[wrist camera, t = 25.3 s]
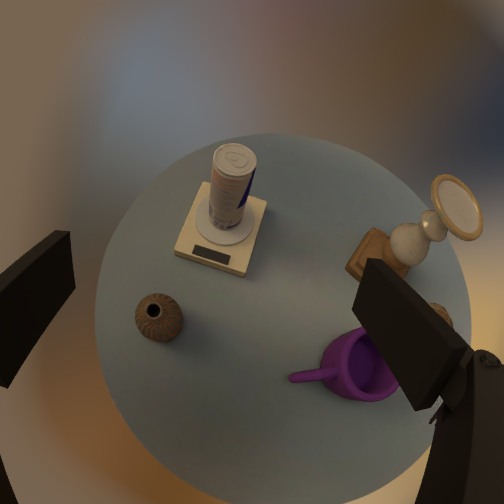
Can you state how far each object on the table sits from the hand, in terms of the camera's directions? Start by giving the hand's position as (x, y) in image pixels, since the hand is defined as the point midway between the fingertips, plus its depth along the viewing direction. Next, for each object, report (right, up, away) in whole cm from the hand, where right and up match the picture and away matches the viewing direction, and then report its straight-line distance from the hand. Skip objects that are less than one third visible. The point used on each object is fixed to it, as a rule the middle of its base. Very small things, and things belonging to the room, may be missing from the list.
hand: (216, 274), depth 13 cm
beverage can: (-3, +7, +38) cm, 39 cm away
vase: (-12, -10, +33) cm, 37 cm away
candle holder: (+26, -2, +43) cm, 50 cm away
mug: (+14, -18, +34) cm, 41 cm away
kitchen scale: (-4, +5, +40) cm, 41 cm away
